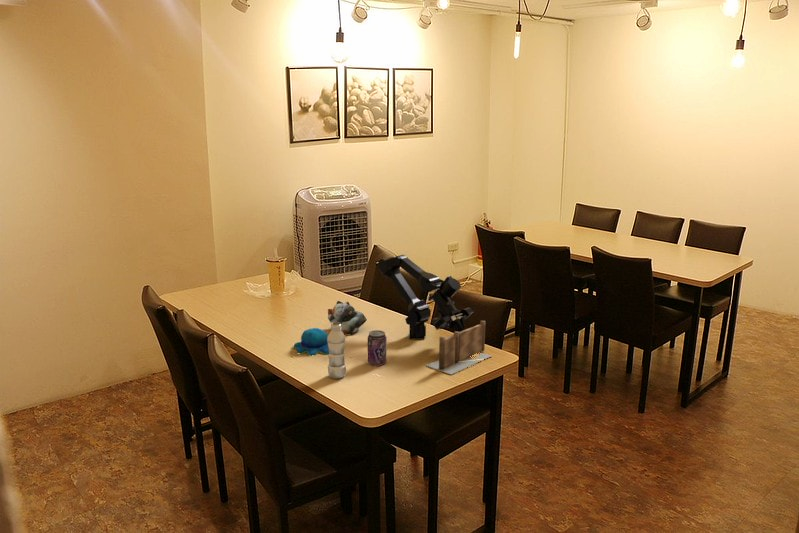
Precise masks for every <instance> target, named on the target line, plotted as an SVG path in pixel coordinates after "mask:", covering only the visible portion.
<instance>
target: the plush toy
mask: <svg viewBox="0 0 799 533" xmlns="http://www.w3.org/2000/svg"><path fill="white" fill-rule="evenodd" d="M328 335H329V334H328V333H327V332H326V331H325V330H324V329H321V328H318V327H311V328H308V329H305V330H304V331H303V332H302V333H301V337H300V341H298V342H294V345H293V348H294V349H296V348H297V349H296V351H295V353H296V352H297V353H300V354H299V355H303V354H306V353H307V356H308V355H310V356H309V357H313V356H312V355H314V356H317V355H316V354H318V353H320V354H322V355H329V347H328V341H327V337H328ZM302 353H303V354H302Z"/></svg>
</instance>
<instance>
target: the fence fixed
mask: <svg viewBox="0 0 799 533" xmlns="http://www.w3.org/2000/svg"><path fill="white" fill-rule="evenodd" d="M438 344H439V347H438V348H439V351H438V352H439V353H438V360H439V369H441V370H443V369H444V368H446V367H448V366H451V365H453V364H455V363H458V358H459V332H458V331H456V330H454V331H453V334H452V335H449V336H447V337H445V336H440V337H439V343H438Z"/></svg>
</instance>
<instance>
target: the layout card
mask: <svg viewBox="0 0 799 533" xmlns="http://www.w3.org/2000/svg"><path fill="white" fill-rule="evenodd" d="M482 353H483V354H482ZM477 354H478V353H477ZM491 356H492V355H490V354H487V353H484V352H481V354H480V353H479V357H478V358H479V359H478V358H477V357H476V356H475V357H476V358H477V359H476V358H475V357H474V356H473V357H474V358H475V359H476V360H477V361H476V360H475V359H474V358H473V357H472V356H471V357H472V358H473V359H474V360H473V359H472V358H471V357H467V358H465V359H463V360H460V361H458V363H455V364H453V365H451V366H448V367H446V368H444V369H443V370H441V369H439V359H437V360H436V361H433V362H431V363H428V364H427V365H426V367H427V368H429V369H432V370H436V371H438V372H440V371H441V373H443V372H444V373H443V374H446V373H447V374H446V375H449V374H450V375H449V376H453V375H455V373H456V374H457V372H458V373H459V371H460V372H462V371H464V370H466V369H465V368H467V367H469V366H471V367H473V366H474V364H475V365H477V364H479V363H478V362H480V361H482V360H484V359H486V360H488V359H490V358H489V357H491ZM487 358H488V359H487ZM491 358H492V357H491ZM478 360H479V361H478ZM484 361H485V360H484ZM482 362H483V361H482ZM476 363H477V364H476ZM480 363H481V362H480ZM472 365H473V366H472ZM469 368H470V367H469ZM463 369H464V370H463ZM467 369H468V368H467ZM461 370H462V371H461Z"/></svg>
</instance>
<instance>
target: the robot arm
mask: <svg viewBox="0 0 799 533" xmlns="http://www.w3.org/2000/svg"><path fill="white" fill-rule="evenodd" d="M377 268H378V270H379V271H380V273H381V274H382V276H385V277H387V278H389V280H390V281H391V282H392V284H393V285H394V287H395V288H396V290H397V291H398V293H399V294H400V296H401V297H402V299H403V300H404V301H405V303H406V304H407V311H408V314H409V315H408V316H407V317H406V318H404V320H405V323H406V325H409V326H408V328H409V332H408V333H409V334H408V339H409V340H425V337H426V336H427V325H426V324H425V323H427V322H428V321H429V319H430V317H431V312H432V310H431V309H430V306H429V304H428V303H427V301H429V302H430V301H433V302H434V303H435V305H436V307H437V308H438V310H437V314H439V315H438V316H437V317H434V318H432V319H431V324H432V325H433V327H434V328H435V330H436V331H438V330H442V329H444V328H445V329H453V330H454V331H458V332H461V331H463V330H466V329H467V328H466V319H467V318H468V317H470V316H471V315H472V314H473V313H474V311H473V310H472V308H471V307H466V308H463V309H462V310H460V309H459V308H458V309H457V308H456V307H455V305H454V304H455V300H451V299H450V298H453V296H455V294H456V293H457V292H458V291H460V290H461V288H462V285H461V282H460V281H459V280H457V279H455V278H454V277H453V276H452V275H448V276H447V277H446V278H445V279H444V280H443V279H441V278H440V277H439V276H437V275H435V274H433V273H431V272H428V271H425V270H424V269H423V268H421V267H420V266H419V265H417V264H416V263H415V262H414V261H412V260H411V259H409V257H408V256H407V255H405V254H400V255H396V256H395V257H394V256H388V257H385V258H380V259H379V261H378V263H377ZM401 269H402V270H404V271H405V272H406V273H407V274H408V275H410V276H411V277H412V278H414V279H415V280H416V281H417V283H418V285H419V287H420V288H421V289H422V290H423V291H424V292H425V293H429V295H428V300H427V301H426V299H421V300H420V299H419V298H418V297H417V296H416V294H415V292H414V291H413V290H412V288H411V286H410V285H409V284H408V282H407V281H406V279H405V278H404V276H403V275H402V273H401ZM430 292H433V293H430Z"/></svg>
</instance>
